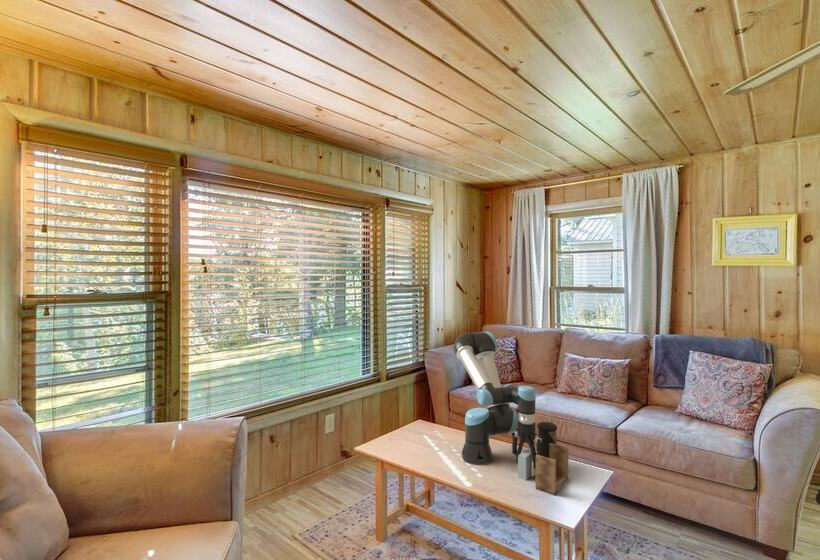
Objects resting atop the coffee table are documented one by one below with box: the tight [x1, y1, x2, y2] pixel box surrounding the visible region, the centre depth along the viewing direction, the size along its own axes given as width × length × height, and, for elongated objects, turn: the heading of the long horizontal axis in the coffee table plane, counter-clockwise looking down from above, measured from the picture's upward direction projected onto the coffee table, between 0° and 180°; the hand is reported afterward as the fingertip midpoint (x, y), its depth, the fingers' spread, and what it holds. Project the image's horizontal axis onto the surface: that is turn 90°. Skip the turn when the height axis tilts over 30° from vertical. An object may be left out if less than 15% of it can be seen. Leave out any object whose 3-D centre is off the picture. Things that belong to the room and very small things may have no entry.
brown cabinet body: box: [535, 443, 569, 496], centre depth 175 cm, size 8×17×14 cm, turn 141°
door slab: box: [517, 447, 533, 481], centre depth 184 cm, size 4×10×10 cm, turn 141°
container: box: [537, 421, 558, 458], centre depth 192 cm, size 9×9×20 cm
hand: (526, 472), depth 184 cm, fingers open, 6 cm apart
